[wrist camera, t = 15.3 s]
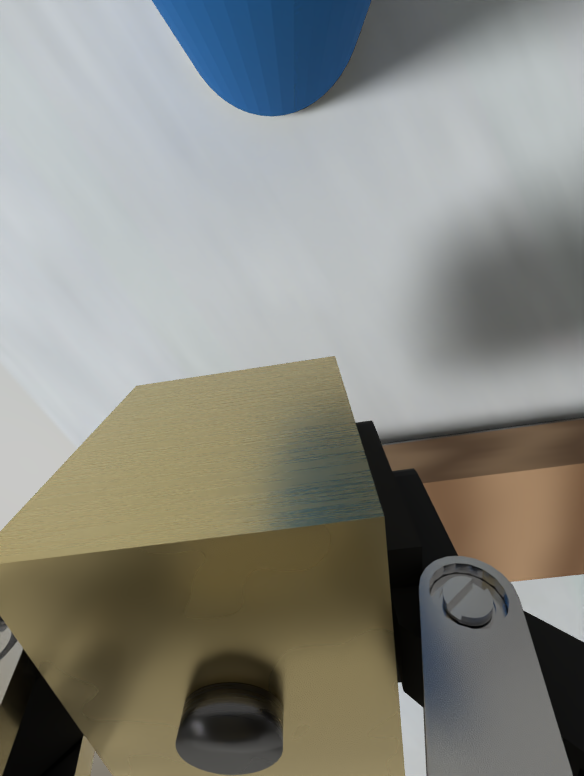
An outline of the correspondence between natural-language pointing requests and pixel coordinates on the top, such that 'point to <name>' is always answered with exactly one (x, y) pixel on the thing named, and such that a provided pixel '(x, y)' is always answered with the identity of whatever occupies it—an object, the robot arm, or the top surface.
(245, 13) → the beverage can
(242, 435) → the tan knob block
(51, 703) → the robot arm
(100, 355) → the top surface
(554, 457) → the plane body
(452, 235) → the top surface
